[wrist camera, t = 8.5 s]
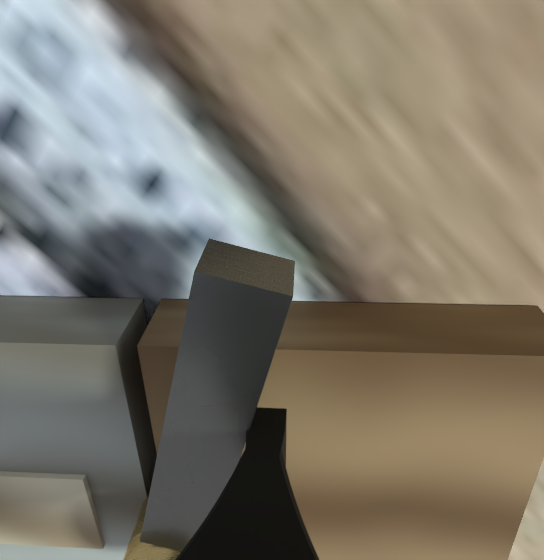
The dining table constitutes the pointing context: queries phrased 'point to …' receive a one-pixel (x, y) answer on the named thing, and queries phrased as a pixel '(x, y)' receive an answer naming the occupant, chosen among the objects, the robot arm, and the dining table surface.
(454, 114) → the dining table surface
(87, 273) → the dining table surface
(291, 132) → the dining table surface
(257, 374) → the bar
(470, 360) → the door mockup
